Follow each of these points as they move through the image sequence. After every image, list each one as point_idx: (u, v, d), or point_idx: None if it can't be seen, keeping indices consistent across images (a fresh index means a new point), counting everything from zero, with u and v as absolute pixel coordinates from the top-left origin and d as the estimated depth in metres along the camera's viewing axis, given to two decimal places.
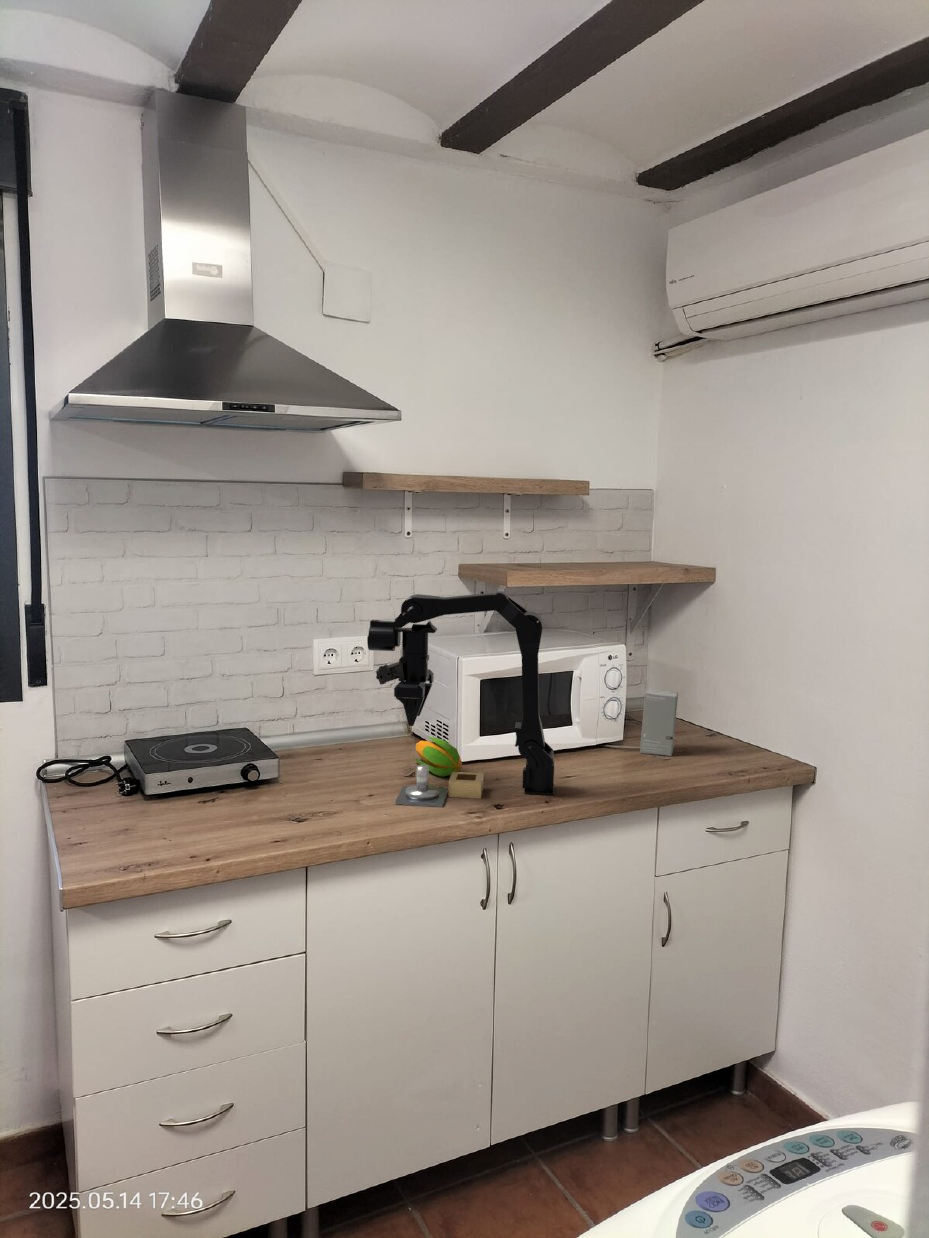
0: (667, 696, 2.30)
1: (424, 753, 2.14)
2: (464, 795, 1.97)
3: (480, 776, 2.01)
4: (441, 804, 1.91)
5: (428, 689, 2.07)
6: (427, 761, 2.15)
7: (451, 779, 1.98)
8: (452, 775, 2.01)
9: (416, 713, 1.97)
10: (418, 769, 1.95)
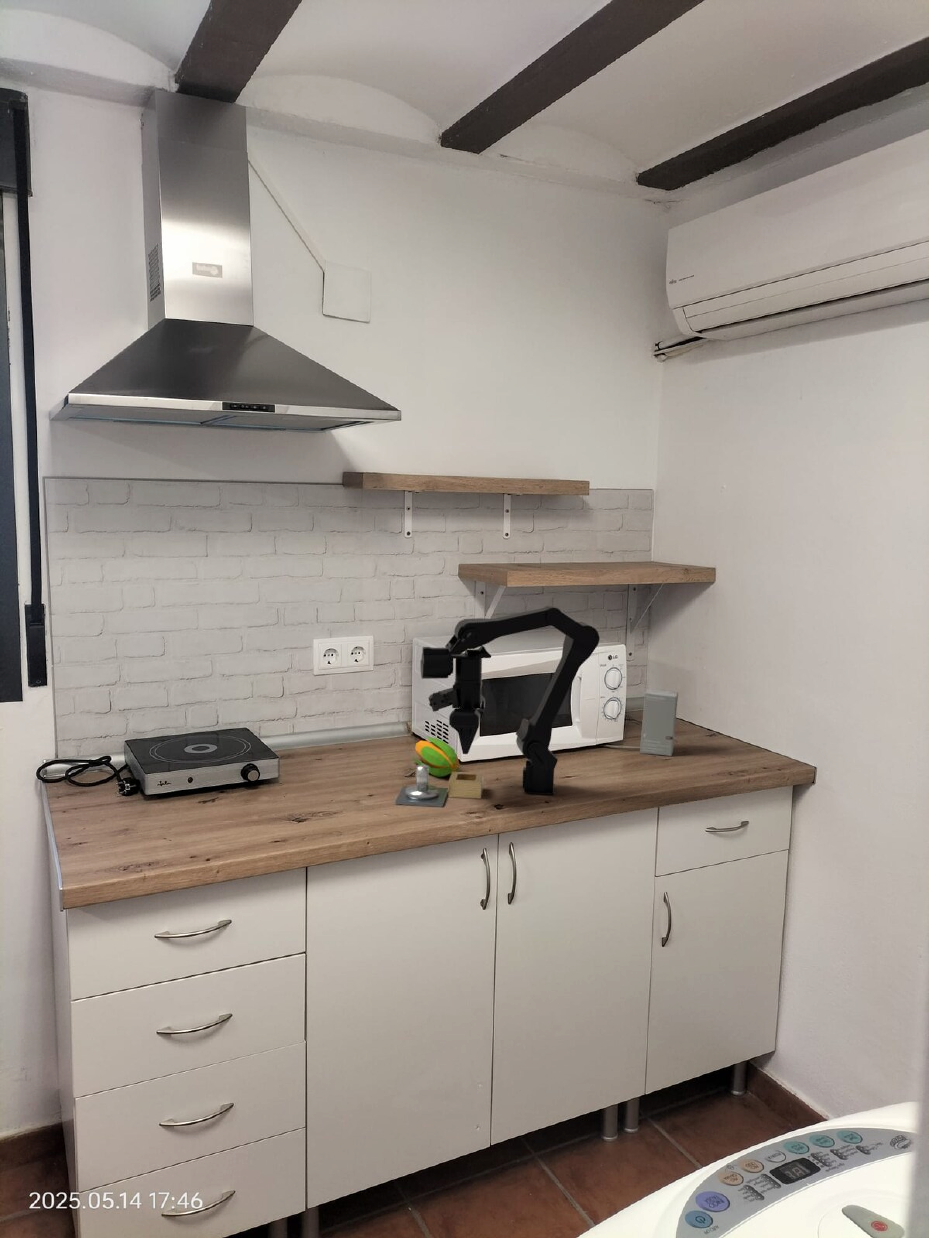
0: (667, 696, 2.30)
1: (422, 753, 2.14)
2: (464, 795, 1.97)
3: (480, 776, 2.01)
4: (441, 804, 1.91)
5: (480, 715, 2.03)
6: (425, 761, 2.15)
7: (451, 779, 1.98)
8: (452, 775, 2.01)
9: (471, 741, 1.93)
10: (418, 769, 1.95)
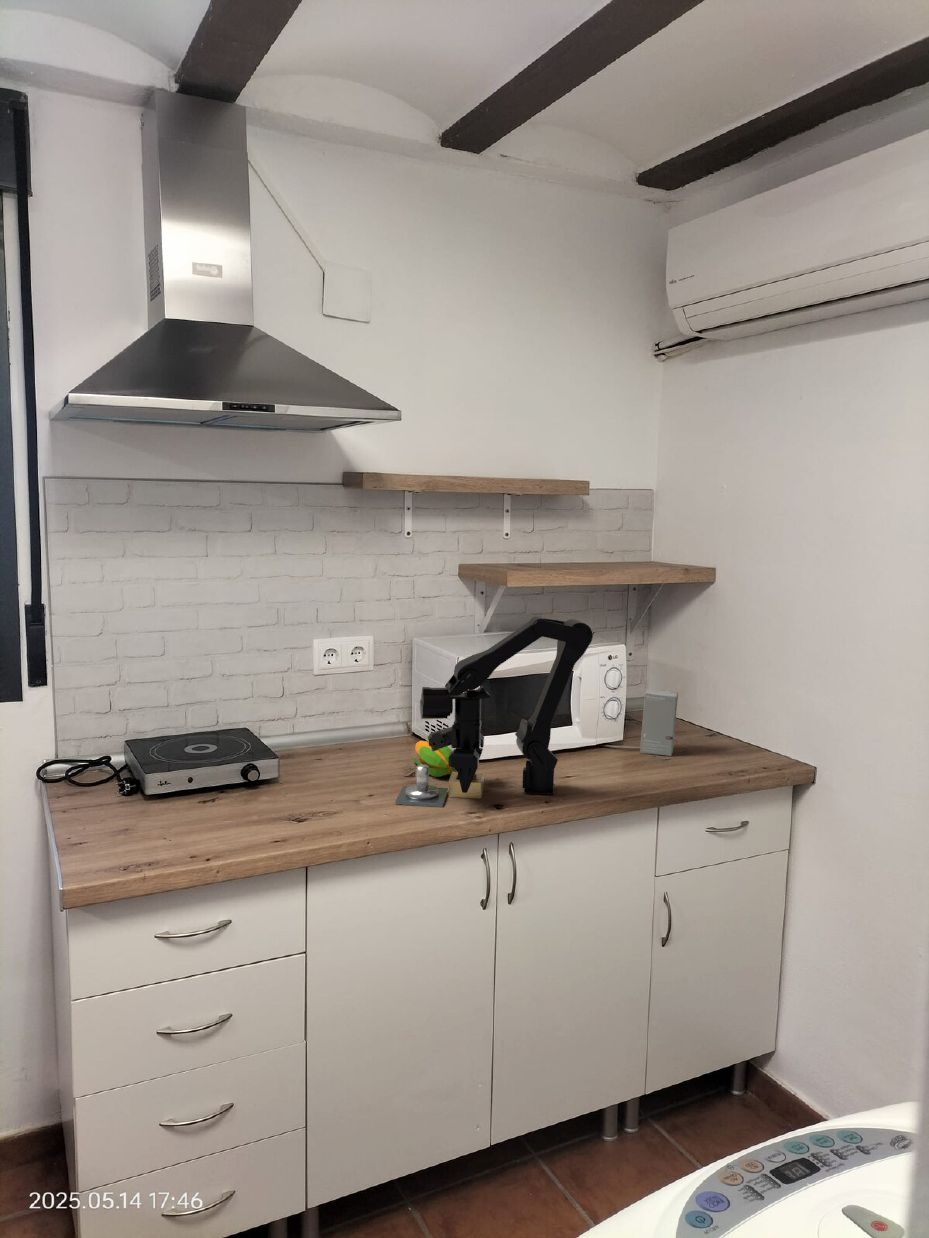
0: (667, 696, 2.30)
1: (420, 753, 2.14)
2: (464, 795, 1.97)
3: (480, 776, 2.01)
4: (441, 804, 1.91)
5: (479, 755, 2.03)
6: (423, 761, 2.15)
7: (451, 779, 1.98)
8: (452, 775, 2.01)
9: (470, 780, 1.95)
10: (418, 769, 1.95)
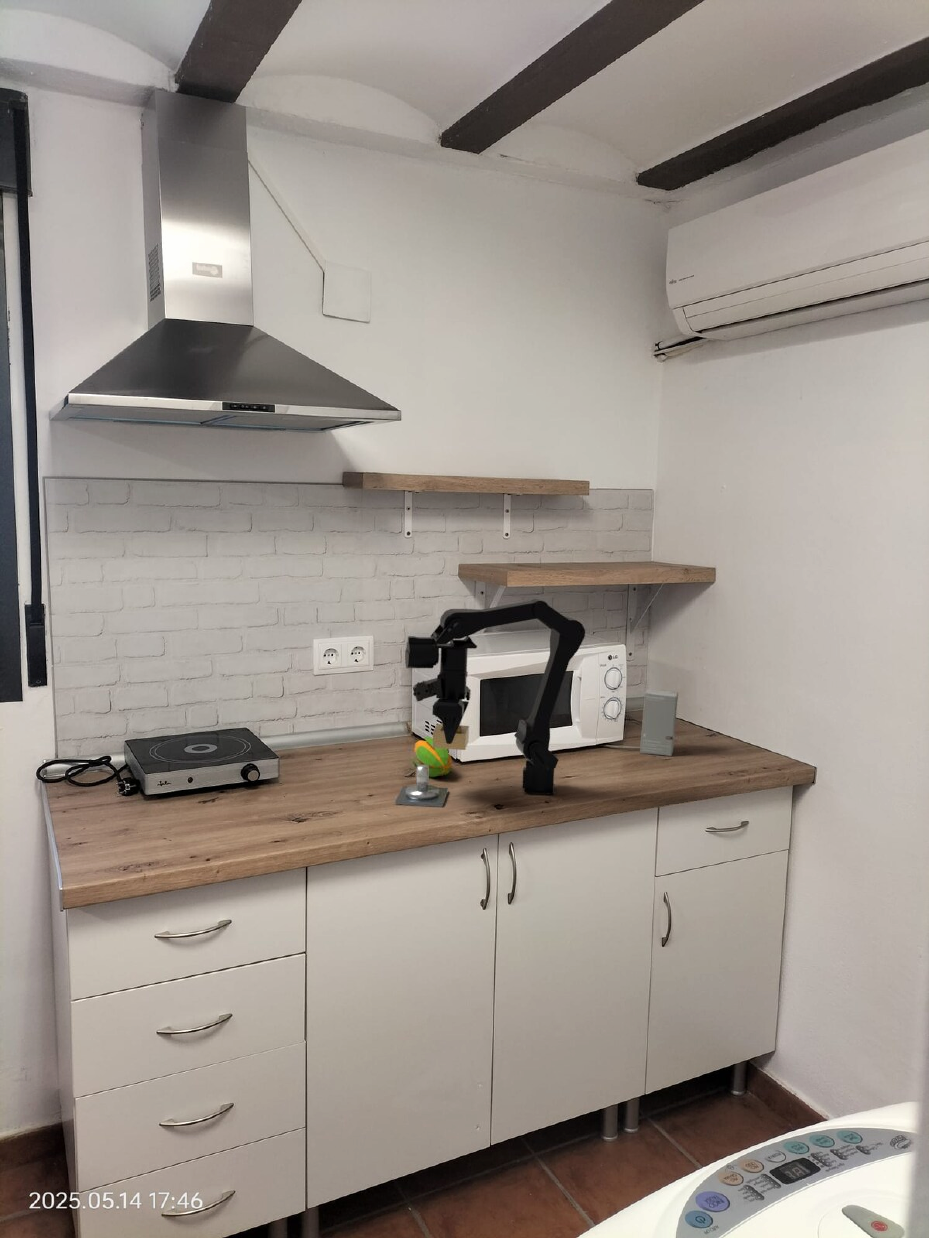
0: (667, 696, 2.30)
1: (417, 753, 2.14)
2: (448, 746, 1.94)
3: (465, 728, 1.98)
4: (441, 804, 1.91)
5: (465, 707, 2.00)
6: (420, 761, 2.15)
7: (436, 730, 1.95)
8: (437, 727, 1.98)
9: (455, 731, 1.92)
10: (418, 769, 1.95)
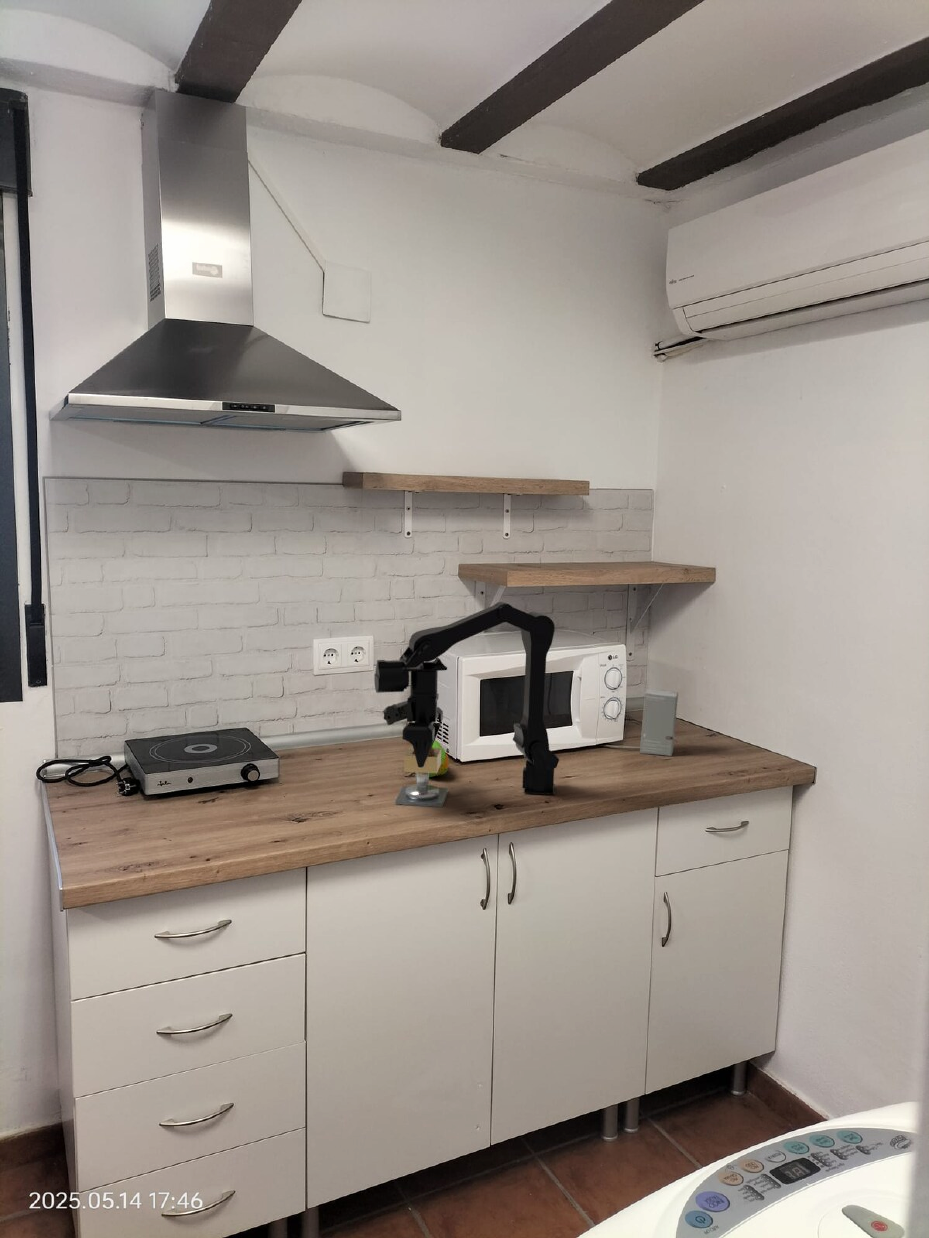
0: (667, 696, 2.30)
1: None
2: (420, 770, 1.92)
3: (437, 751, 1.96)
4: (441, 804, 1.91)
5: (437, 729, 1.98)
6: None
7: (407, 753, 1.93)
8: (408, 750, 1.96)
9: (426, 754, 1.90)
10: None
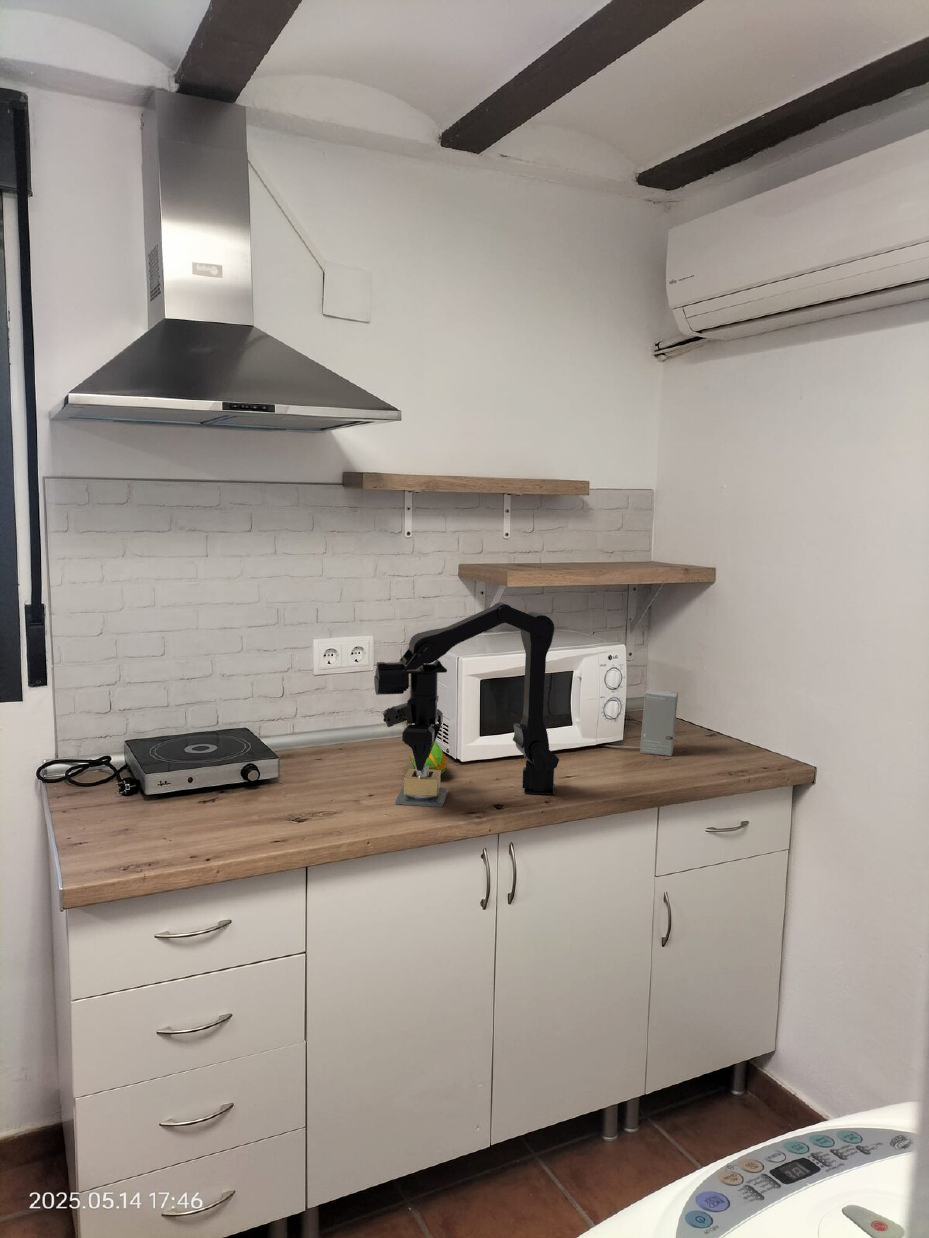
0: (667, 696, 2.30)
1: None
2: (420, 792, 1.93)
3: (437, 773, 1.96)
4: (441, 804, 1.91)
5: (437, 730, 1.99)
6: None
7: (407, 776, 1.94)
8: (408, 772, 1.97)
9: (425, 758, 1.89)
10: None
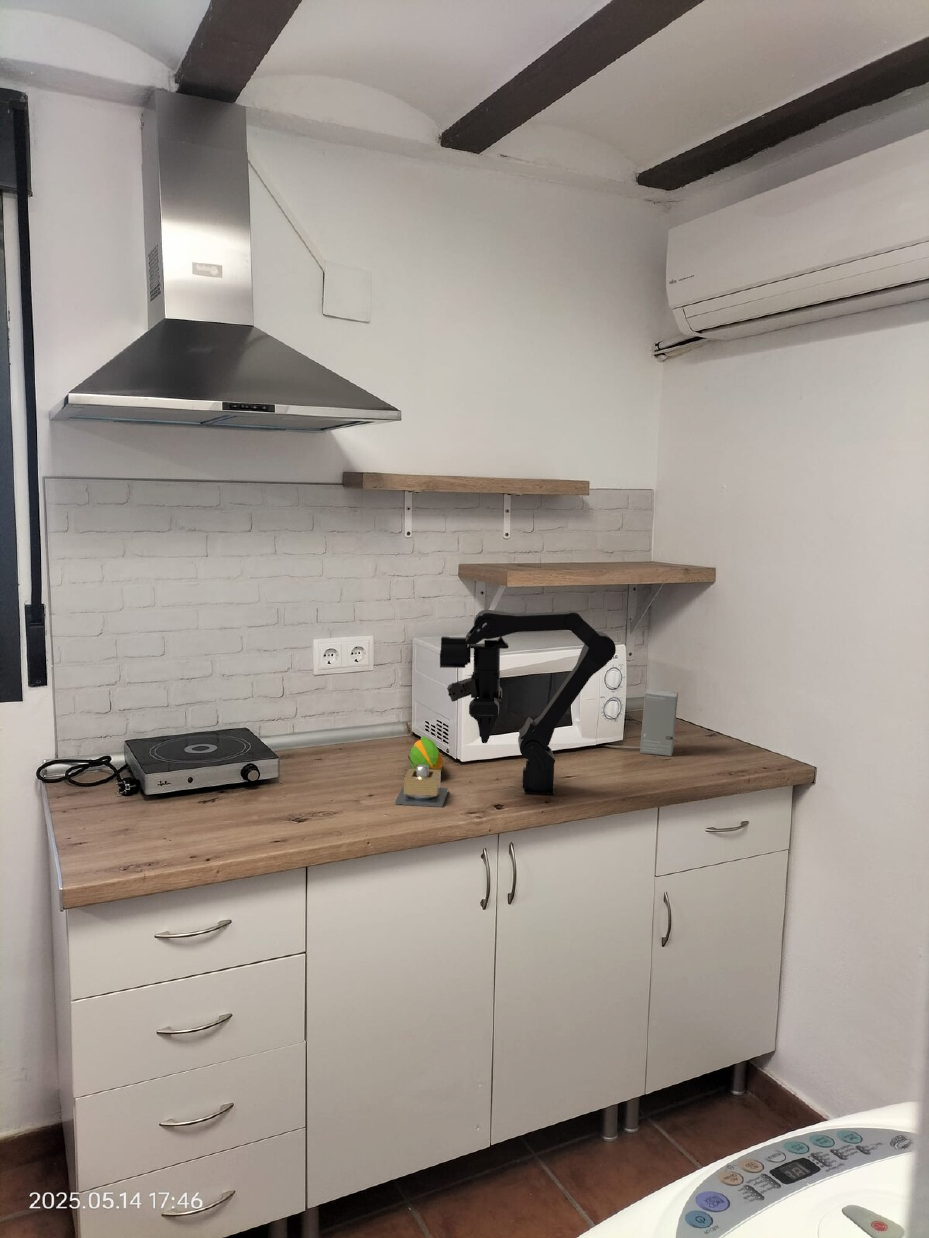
0: (667, 696, 2.30)
1: (411, 752, 2.15)
2: (420, 792, 1.93)
3: (437, 773, 1.96)
4: (441, 804, 1.91)
5: (498, 705, 2.05)
6: None
7: (407, 776, 1.94)
8: (408, 772, 1.97)
9: (490, 730, 1.95)
10: (418, 769, 1.95)
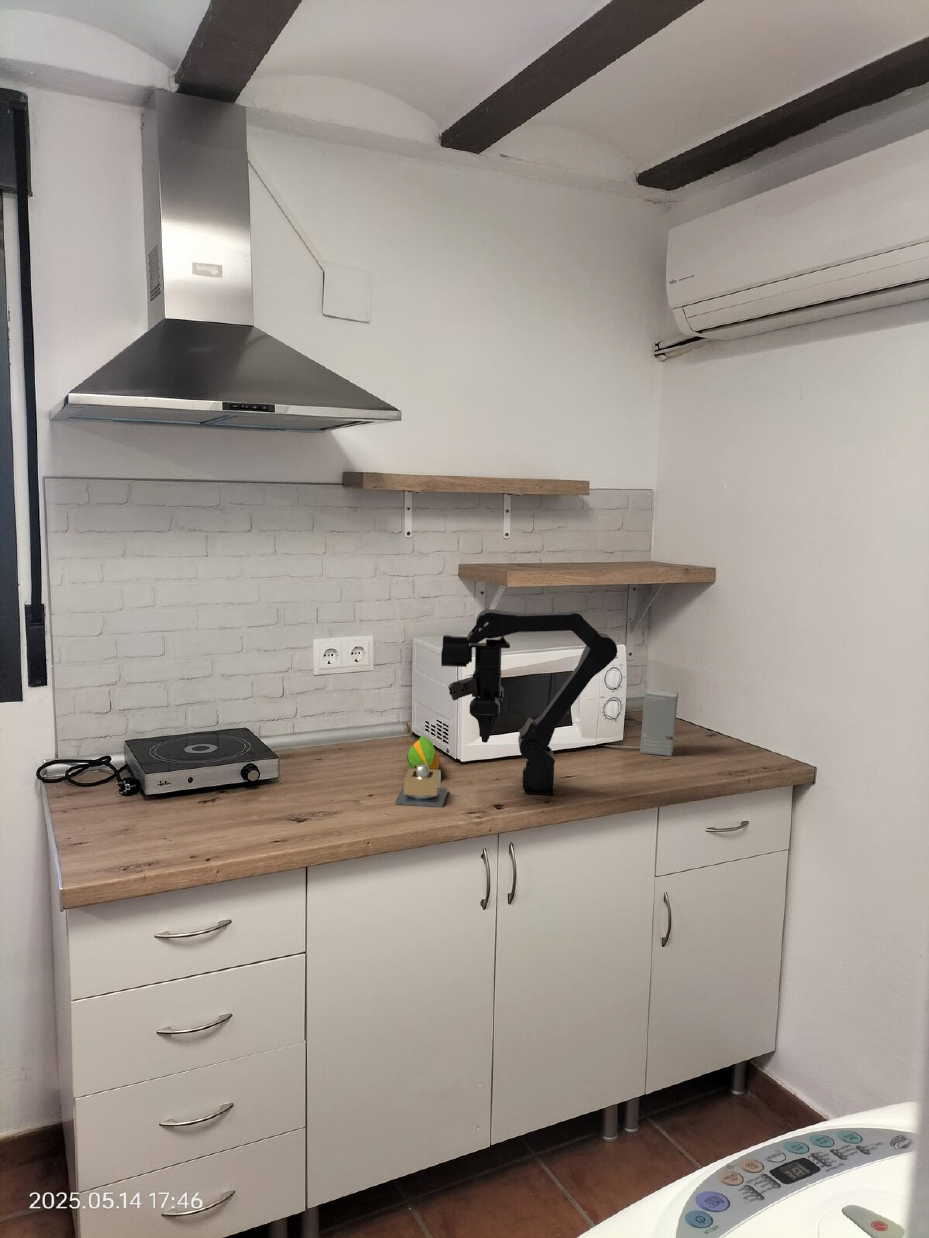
0: (667, 696, 2.30)
1: None
2: (420, 792, 1.93)
3: (437, 773, 1.96)
4: (441, 804, 1.91)
5: (499, 704, 2.05)
6: None
7: (407, 776, 1.94)
8: (408, 772, 1.97)
9: (490, 729, 1.95)
10: (418, 769, 1.95)
